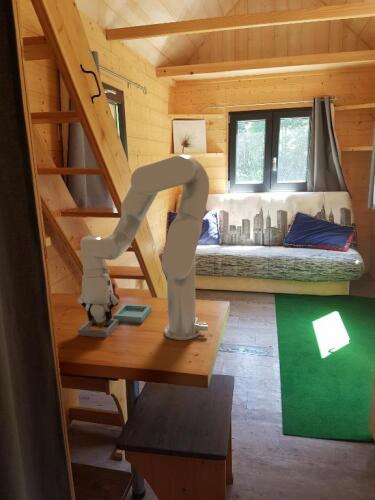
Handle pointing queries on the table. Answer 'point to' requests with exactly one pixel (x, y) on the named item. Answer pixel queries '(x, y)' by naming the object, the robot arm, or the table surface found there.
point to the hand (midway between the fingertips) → (100, 319)
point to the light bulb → (98, 314)
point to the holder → (98, 333)
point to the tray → (132, 313)
